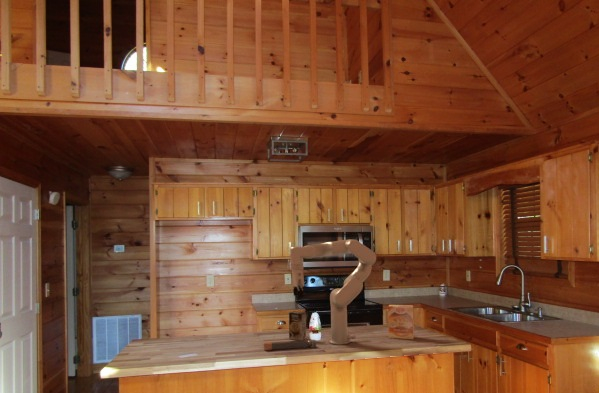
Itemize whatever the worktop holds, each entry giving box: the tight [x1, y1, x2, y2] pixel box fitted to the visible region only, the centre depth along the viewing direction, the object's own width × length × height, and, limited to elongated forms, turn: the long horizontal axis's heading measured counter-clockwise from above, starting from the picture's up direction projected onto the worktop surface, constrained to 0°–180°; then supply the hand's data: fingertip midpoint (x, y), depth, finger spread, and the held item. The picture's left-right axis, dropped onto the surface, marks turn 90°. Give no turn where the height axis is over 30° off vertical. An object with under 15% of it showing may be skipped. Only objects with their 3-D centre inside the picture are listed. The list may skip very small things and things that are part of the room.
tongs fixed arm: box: [265, 339, 317, 349], centre depth 256 cm, size 30×4×4 cm, turn 103°
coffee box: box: [288, 311, 307, 341], centre depth 279 cm, size 9×6×16 cm
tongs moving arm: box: [263, 339, 313, 351], centre depth 254 cm, size 27×2×4 cm, turn 102°
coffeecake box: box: [387, 304, 415, 340], centre depth 280 cm, size 15×7×20 cm, turn 73°
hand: (298, 296), depth 267 cm, fingers open, 9 cm apart
